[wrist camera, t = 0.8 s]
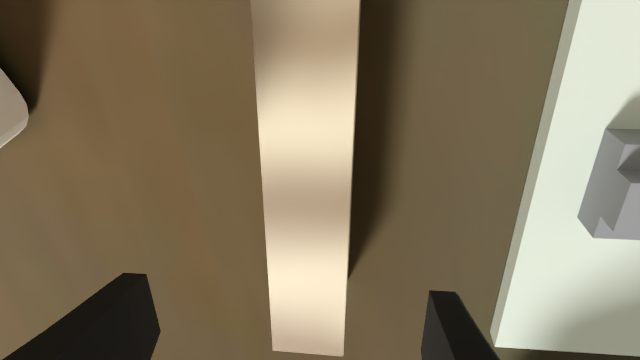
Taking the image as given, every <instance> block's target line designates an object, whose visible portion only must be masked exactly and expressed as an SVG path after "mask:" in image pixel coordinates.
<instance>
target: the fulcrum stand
mask: <svg viewBox="0 0 640 360" xmlns="http://www.w3.org/2000/svg"><path fill="white" fill-rule="evenodd" d="M490 333H491V337H492V340H493V343H494V346H495V347H506V348H521V349H536V350H551V351H566V352H581V353H596V354H611V355H626V356H640V0H569V4H568V8H567V12H566V16H565V20H564V25H563V29H562V33H561V37H560V41H559V45H558V50H557V54H556V58H555V62H554V66H553V71H552V75H551V79H550V83H549V87H548V91H547V96H546V100H545V104H544V108H543V112H542V116H541V121H540V125H539V129H538V133H537V137H536V141H535V146H534V150H533V154H532V158H531V162H530V167H529V171H528V175H527V179H526V183H525V187H524V192H523V196H522V200H521V204H520V208H519V212H518V217H517V221H516V225H515V229H514V233H513V238H512V242H511V246H510V250H509V254H508V258H507V263H506V267H505V271H504V275H503V279H502V283H501V288H500V292H499V296H498V300H497V304H496V309H495V313H494V317H493V321H492V325H491V329H490Z"/></svg>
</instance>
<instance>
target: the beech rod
mask: <svg viewBox="0 0 640 360" xmlns="http://www.w3.org/2000/svg"><path fill="white" fill-rule="evenodd" d="M250 1H251V16H252V32H253V48H254V63H255V79H256V94H257V110H258V126H259V141H260V157H261V172H262V188H263V203H264V219H265V235H266V250H267V266H268V281H269V297H270V312H271V328H272V344H273V351H285V352H297V353H309V354H321V355H333V356H343V351H344V334H345V318H346V301H347V284H348V264H349V242H350V221H351V200H352V179H353V158H354V136H355V115H356V94H357V73H358V52H359V30H360V9H361V0H250Z"/></svg>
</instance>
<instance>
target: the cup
mask: <svg viewBox="0 0 640 360" xmlns="http://www.w3.org/2000/svg"><path fill="white" fill-rule="evenodd" d="M28 118H29V114H28V109H27V104H26V102H25V101H24V99H23V97H22V96H21V94H20V92H19V91H18V90H17V88H16V87H15V86H14V85H13V83H12V82H11V81H10V80H9V78H8V77H7V76H6V74H5V73H4V72H3V71H2V69H1V68H0V148H1V147H2V146H3V145H5V144H6V143H7V142H8V141H10V140H11V139H12V138H14V137H15V136H16V135H17V134H19V133H20V132H21V131H22V130H23V129H24V128H25V127H26V126H27V122H28Z"/></svg>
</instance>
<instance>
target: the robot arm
mask: <svg viewBox="0 0 640 360" xmlns="http://www.w3.org/2000/svg"><path fill="white" fill-rule="evenodd" d="M160 332H161V331H160V327H159V323H158V319H157V315H156V311H155V307H154V303H153V299H152V295H151V291H150V287H149V283H148V279H147V275H146V274H135V273H123V274H121V275H120V276H119V277H117V278H116V279H114V280H113V281H111V282H110V283H109V284H107V285H106V286H105V287H103V288H102V289H101V290H99V291H98V292H96V293H95V294H94V295H92V296H91V297H90V298H88V299H87V300H86V301H84V302H83V303H82V304H80V305H79V306H78V307H76V308H75V309H74V310H72V311H71V312H70V313H68V314H67V315H65V316H64V317H63V318H61V319H60V320H59V321H57V322H56V323H55V324H53V325H52V326H51V327H49V328H48V329H46V330H45V331H44V332H42V333H41V334H39V335H38V336H36V337H35V338H33V339H32V340H30V341H29V342H27V343H26V344H25V345H23V346H22V347H20V348H19V349H17V350H16V351H14V352H13V353H11V354H10V355H8V356H7V357H5V358H4V359H3V360H150V359H151V356H152V354H153V351H154V348H155V346H156V343H157V340H158V337H159V334H160ZM421 355H422V360H500V359H499V358H498V356H497V355H496V353H495V352H494V351H493V349H492V348H491V346H490V345H489V343H488V342H487V340H486V339H485V337H484V336H483V334H482V333H481V331H480V330H479V328H478V327H477V325H476V324H475V322H474V320H473V319H472V317H471V316H470V314H469V312H468V311H467V309H466V307H465V306H464V304H463V302H462V300H461V299H460V297H459V296H458V295H457V293H456V292H447V291H430V290H429V297H428V304H427V311H426V318H425V325H424V332H423V339H422V346H421Z"/></svg>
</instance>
